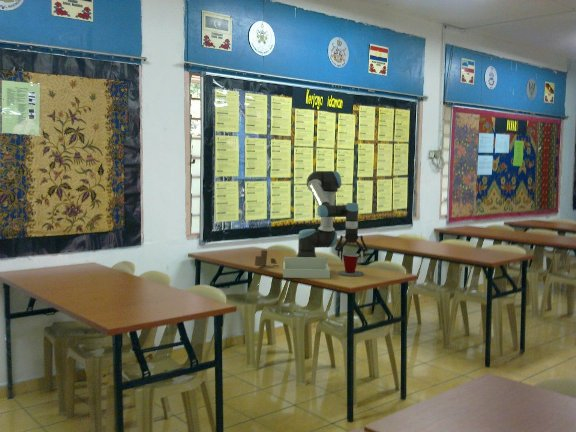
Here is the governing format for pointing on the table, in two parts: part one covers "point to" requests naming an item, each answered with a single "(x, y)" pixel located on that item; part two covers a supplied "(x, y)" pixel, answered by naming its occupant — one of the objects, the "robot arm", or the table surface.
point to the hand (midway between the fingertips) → (350, 261)
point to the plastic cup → (350, 261)
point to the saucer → (343, 273)
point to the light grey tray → (305, 267)
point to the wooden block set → (263, 259)
